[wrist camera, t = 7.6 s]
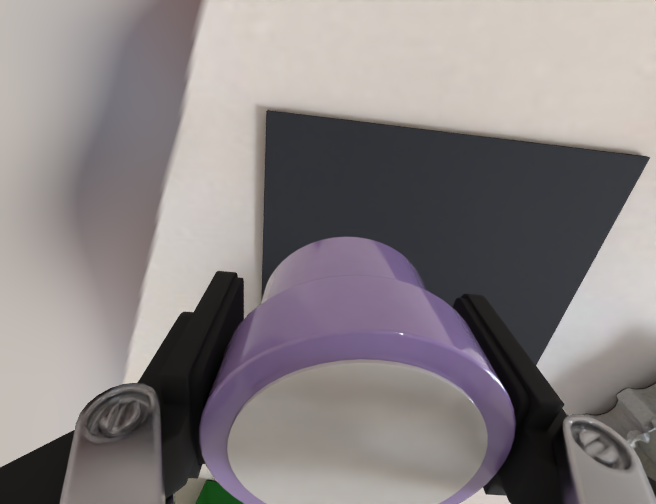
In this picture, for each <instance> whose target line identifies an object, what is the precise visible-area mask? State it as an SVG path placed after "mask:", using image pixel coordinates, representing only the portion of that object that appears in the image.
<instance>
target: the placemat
mask: <svg viewBox="0 0 656 504" xmlns="http://www.w3.org/2000/svg"><path fill="white" fill-rule="evenodd" d="M649 159H650V157H647V156H640V155H631V154H623V153H615V152H607V151H599V150H590V149H582V148H574V147H566V146H557V145H549V144H541V143H533V142H524V141H516V140H508V139H500V138H492V137H483V136H475V135H467V134H459V133H450V132H442V131H434V130H426V129H418V128H409V127H401V126H393V125H385V124H376V123H368V122H360V121H352V120H343V119H335V118H327V117H319V116H311V115H302V114H294V113H286V112H278V111H269V110H268V111H267V114H266V152H265V190H264V228H263V266H262V298H263V295H264V291H265V288H266V285H267V283H268V281H269V278H270V277H271V275H272V274H273V272H274V271H275V269H276V268H277V267H278V266H279V265H280V263H281V262H282V261H283V260H285V259H286V258H287V257H288V256H289V255H291V254H292V253H294V252H295V251H297V250H298V249H300V248H302V247H304V246H306V245H308V244H311V243H314V242H317V241H320V240H323V239H328V238H334V237H359V238H365V239H370V240H374V241H377V242H380V243H383V244H385V245H387V246H389V247H391V248H393V249H395V250H396V251H398V252H400V253H401V254H402V255H403V256H404V257H406V258H407V259H408V260H409V261H410V262H411V263H412V264H413V266H414V267H415V268H416V270H417V271H418V273H419V274H420V276H421V278H422V280H423V282H424V284H425V287H426V289H427V291H428V292H430V293H432V294H434V295H435V296H437V297H439V298H440V299H442V300H443V301H445V302H446V303H447V304H448V305H450V306H451V307H452V308H453V305H454V302H455V300H456V299H457V298H461V296H462V295H463V294H475V295H483V296H484V297H485V298H486V299H487V300H488V302H489V303H490V304H491V306H492V307H493V309H494V310H495V311H496V313H497V314H498V315H499V317H500V318H501V319H502V321H503V322H504V323H505V325H506V326H507V327H508V329H509V330H510V332H511V333H512V334H513V336H514V337H515V338H516V340H517V341H518V342H519V344H520V345H521V346H522V348H523V349H524V350H525V352H526V353H527V355H528V356H529V357H530V359H531V360H532V361H533V363H534V364H535V365H536V364H537V363H538V361H539V359H540V357H541V355H542V353H543V352H544V350H545V348H546V346H547V344H548V342H549V341H550V339H551V337H552V335H553V333H554V332H555V330H556V328H557V326H558V324H559V322H560V321H561V319H562V317H563V315H564V313H565V312H566V310H567V308H568V306H569V304H570V302H571V301H572V299H573V297H574V295H575V293H576V291H577V290H578V288H579V286H580V284H581V282H582V281H583V279H584V277H585V275H586V273H587V271H588V270H589V268H590V266H591V264H592V262H593V261H594V259H595V257H596V255H597V253H598V251H599V250H600V248H601V246H602V244H603V242H604V240H605V239H606V237H607V235H608V233H609V231H610V230H611V228H612V226H613V224H614V222H615V220H616V219H617V217H618V215H619V213H620V211H621V210H622V208H623V206H624V204H625V202H626V200H627V199H628V197H629V195H630V193H631V191H632V189H633V188H634V186H635V184H636V182H637V180H638V179H639V177H640V175H641V173H642V171H643V169H644V168H645V166H646V164H647V162H648V160H649Z"/></svg>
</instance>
